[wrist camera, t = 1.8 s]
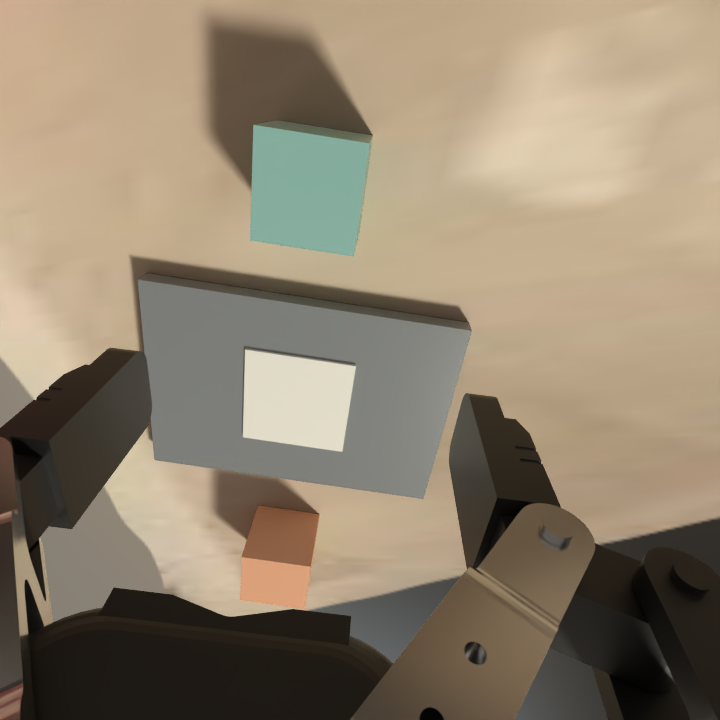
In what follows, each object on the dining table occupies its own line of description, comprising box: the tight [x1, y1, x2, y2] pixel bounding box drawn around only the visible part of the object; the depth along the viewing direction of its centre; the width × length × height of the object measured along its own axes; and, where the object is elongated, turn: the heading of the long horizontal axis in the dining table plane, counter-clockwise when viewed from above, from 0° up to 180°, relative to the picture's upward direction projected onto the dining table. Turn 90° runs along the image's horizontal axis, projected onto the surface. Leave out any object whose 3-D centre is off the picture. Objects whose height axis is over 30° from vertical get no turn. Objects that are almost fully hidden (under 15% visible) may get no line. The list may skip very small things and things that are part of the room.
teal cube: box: [250, 120, 373, 257], centre depth 24 cm, size 5×5×5 cm
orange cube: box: [240, 505, 319, 609], centre depth 37 cm, size 5×5×5 cm
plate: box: [138, 273, 472, 499], centre depth 32 cm, size 14×20×1 cm
